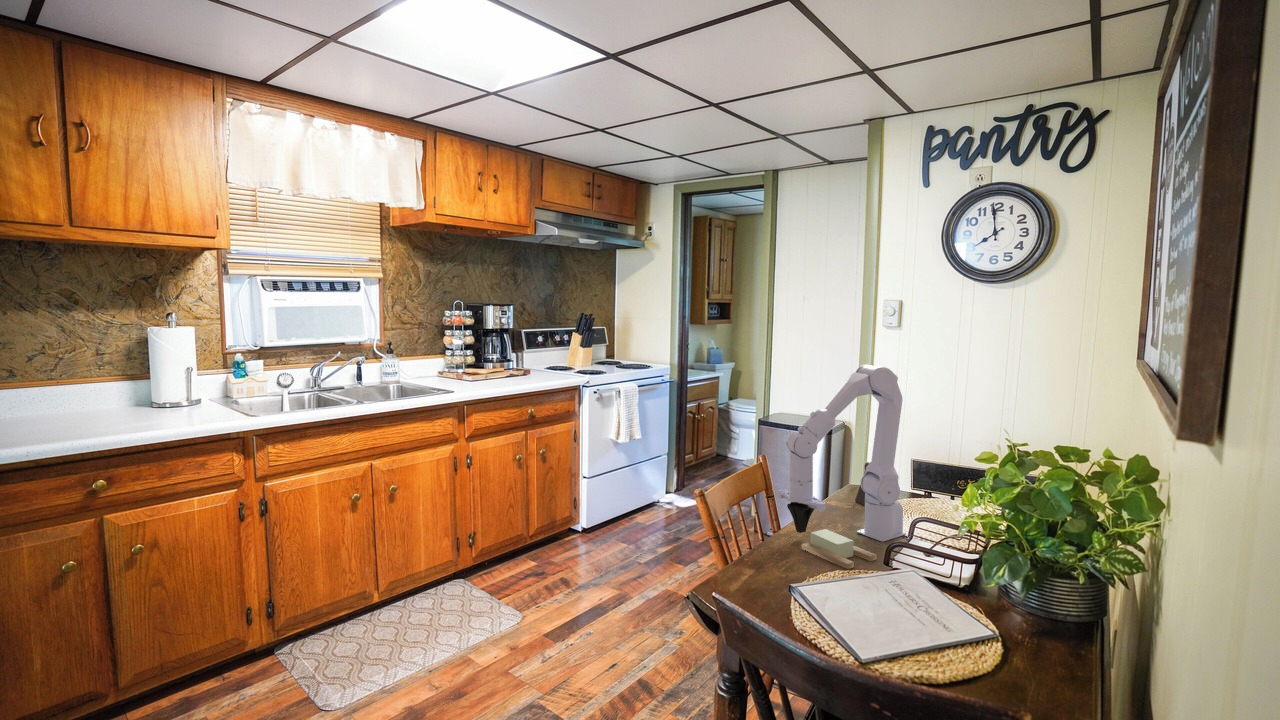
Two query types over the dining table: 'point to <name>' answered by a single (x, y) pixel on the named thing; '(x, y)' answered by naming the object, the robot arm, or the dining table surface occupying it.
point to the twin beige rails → (839, 559)
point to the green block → (832, 543)
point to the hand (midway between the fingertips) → (801, 531)
